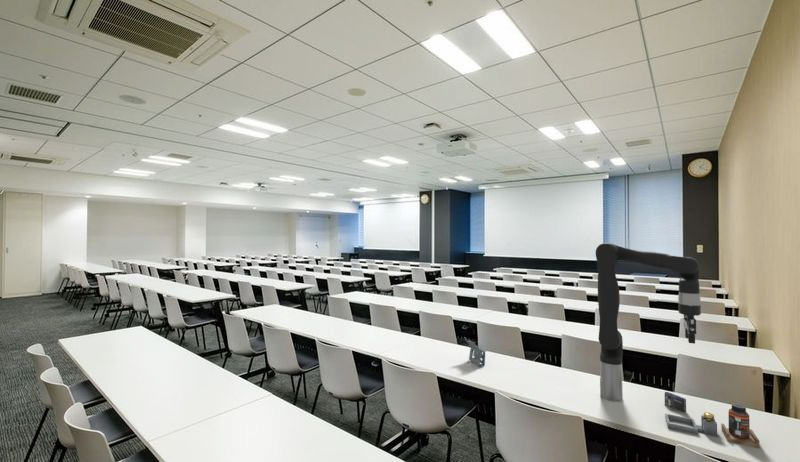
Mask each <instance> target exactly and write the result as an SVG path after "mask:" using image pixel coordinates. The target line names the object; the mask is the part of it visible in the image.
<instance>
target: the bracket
mask: <svg viewBox="0 0 800 462" xmlns="http://www.w3.org/2000/svg"><path fill="white" fill-rule="evenodd" d="M463 338H464V340H465V341H466V342H467V343H468V344H469V347H470V349H469V356H468V360H469V361H471V363H472V362H473V363H472V364H474V365H475V364H476V366H478V367H485V366H486V365H485V364H486V352H487V350H486V349H485V348H482V347H481V346H478V345H477V344H476V343H475V342H474V341H471V340H470V339H467V337H465V336H464V337H463Z"/></svg>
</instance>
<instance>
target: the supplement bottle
mask: <svg viewBox="0 0 800 462" xmlns="http://www.w3.org/2000/svg"><path fill="white" fill-rule="evenodd" d="M727 415H728V429H729V433H730V434H732V435H734V436H736V437H739V438H744V439H747V438H749V437H750V429H751V428H750V426H751V425H750V414H749V413H748V412H747V408H746V406H745V405H743V404H740V403H731V408H729V409H728V413H727Z"/></svg>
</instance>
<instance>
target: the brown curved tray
mask: <svg viewBox="0 0 800 462" xmlns="http://www.w3.org/2000/svg"><path fill="white" fill-rule="evenodd" d="M720 426H721V429H720V430H721V432H722V434H723V435H724V436H723V437H724V438H725V439H726V441H727V442H730V441H731V443H735V444H741V445H744V446H748V447H753V448H758V449H760V447H761V446H760V439H759V438H758V436H757V435H756V434H755V432H754V430H753V429H751V428H750V437H749V438H747V439H744V438H739V437H736V436H734V435H732V434H730V433H729V427H728V428H727V426H726V425H725V423H721V425H720Z"/></svg>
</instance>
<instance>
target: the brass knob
mask: <svg viewBox="0 0 800 462" xmlns="http://www.w3.org/2000/svg"><path fill="white" fill-rule="evenodd" d="M703 416H704V417H705V418H707V420H710V421H711V419H715V414H713V413H712V412H707V411H704V412H703Z"/></svg>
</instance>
